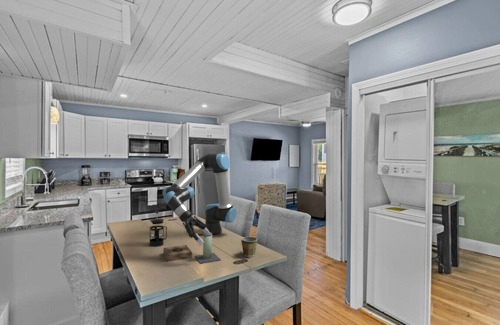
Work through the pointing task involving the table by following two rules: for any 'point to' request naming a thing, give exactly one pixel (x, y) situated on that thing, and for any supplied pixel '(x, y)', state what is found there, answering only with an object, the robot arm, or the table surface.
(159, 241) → the french press
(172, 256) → the socket block
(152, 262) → the table surface
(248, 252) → the ceramic cup
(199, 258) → the mat
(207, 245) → the plug
